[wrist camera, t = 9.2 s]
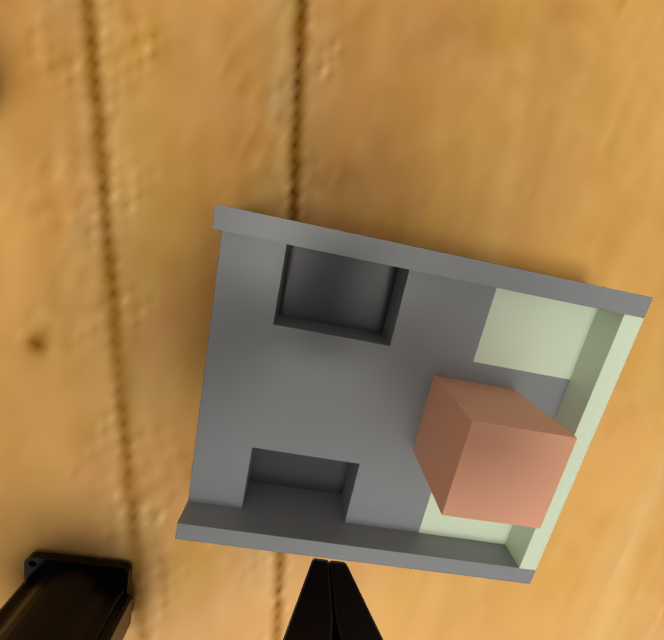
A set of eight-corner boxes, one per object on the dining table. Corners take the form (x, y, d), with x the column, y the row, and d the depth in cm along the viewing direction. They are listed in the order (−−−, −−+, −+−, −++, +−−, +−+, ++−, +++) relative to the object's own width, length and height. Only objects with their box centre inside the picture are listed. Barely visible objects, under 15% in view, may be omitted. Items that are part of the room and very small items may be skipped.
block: (412, 449, 19) (441, 515, 14) (434, 375, 18) (472, 420, 13) (489, 461, 19) (540, 528, 15) (514, 389, 18) (577, 438, 14)
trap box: (201, 484, 21) (175, 538, 18) (238, 211, 18) (215, 204, 14) (494, 525, 23) (529, 584, 19) (585, 285, 19) (652, 297, 15)
